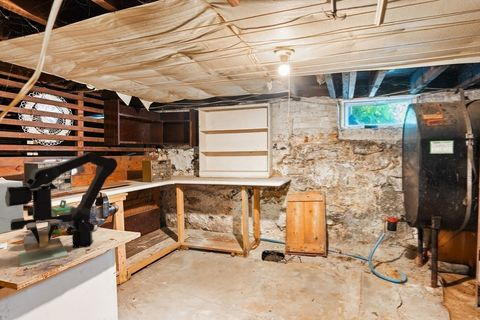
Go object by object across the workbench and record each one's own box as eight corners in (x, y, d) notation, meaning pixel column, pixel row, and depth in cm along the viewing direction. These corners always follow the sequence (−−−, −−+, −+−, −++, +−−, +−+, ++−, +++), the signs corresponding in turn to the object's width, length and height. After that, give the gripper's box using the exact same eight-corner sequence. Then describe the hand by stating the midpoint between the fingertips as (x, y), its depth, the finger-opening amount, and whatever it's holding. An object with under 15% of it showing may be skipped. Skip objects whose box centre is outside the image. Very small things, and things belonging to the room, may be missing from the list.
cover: (59, 239, 111) (58, 228, 110) (63, 246, 102) (62, 234, 102) (24, 245, 103) (24, 233, 103) (26, 254, 95) (25, 241, 95)
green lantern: (47, 231, 132) (46, 201, 132) (67, 226, 140) (66, 198, 139) (55, 234, 127) (55, 203, 126) (76, 229, 135) (75, 200, 134)
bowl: (50, 238, 121) (50, 228, 121) (52, 244, 114) (52, 233, 114) (24, 243, 115) (23, 233, 115) (24, 249, 108) (24, 238, 108)
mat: (62, 245, 113) (62, 244, 113) (68, 256, 102) (68, 254, 102) (19, 254, 104) (19, 252, 104) (20, 266, 93) (20, 264, 93)
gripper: (67, 196, 114) (68, 232, 115) (9, 201, 102) (11, 242, 103) (72, 200, 106) (73, 239, 106) (9, 207, 94) (11, 251, 94)
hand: (43, 242), depth 103 cm, fingers closed on cover, 3 cm apart
